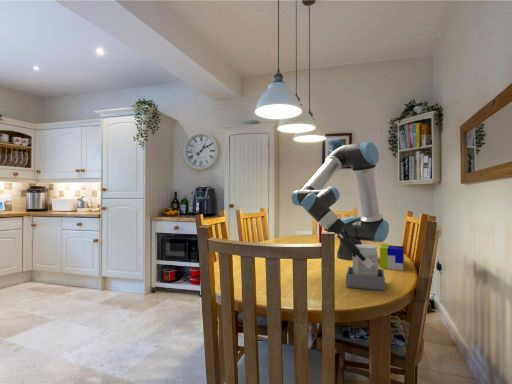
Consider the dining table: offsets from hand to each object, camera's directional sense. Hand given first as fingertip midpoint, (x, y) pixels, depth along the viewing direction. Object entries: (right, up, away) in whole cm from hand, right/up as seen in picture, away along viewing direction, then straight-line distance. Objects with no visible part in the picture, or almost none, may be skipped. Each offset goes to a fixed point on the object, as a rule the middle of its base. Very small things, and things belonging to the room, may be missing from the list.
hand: (371, 262), depth 120 cm
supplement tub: (-2, -8, +1) cm, 9 cm away
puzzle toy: (+22, -9, +30) cm, 38 cm away
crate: (-2, -9, +1) cm, 9 cm away
